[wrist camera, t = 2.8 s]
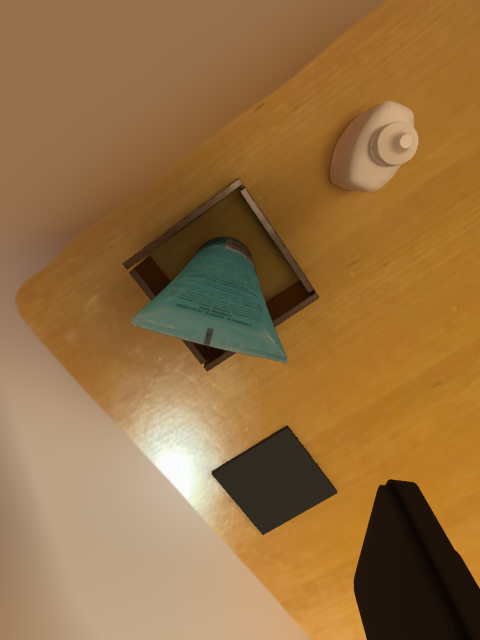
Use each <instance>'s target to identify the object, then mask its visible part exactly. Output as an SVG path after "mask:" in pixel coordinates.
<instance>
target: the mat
mask: <svg viewBox="0 0 480 640" xmlns="http://www.w3.org/2000/svg"><path fill="white" fill-rule="evenodd" d="M212 475H213V476H214V477H215V479H216V480H217V481H218V482H219V483H220V485H221V486H222V487H223V488H224V489H225V490H226V492H227V493H228V494H229V495H230V496H231V498H232V499H233V500H234V501H235V502H236V504H237V505H238V506H239V507H240V508H241V509H242V511H243V512H244V513H245V514H246V515H247V517H248V518H249V519H250V520H251V521H252V523H253V524H254V525H255V526H256V527H257V529H258V530H259V531H260V532H261V533H262V534H263V535H264V534H266V533H268V532H269V531H271V530H273V529H275V528H276V527H278V526H280V525H282V524H283V523H285V522H287V521H289V520H291V519H292V518H294V517H296V516H298V515H299V514H301V513H303V512H305V511H306V510H308V509H310V508H312V507H313V506H315V505H317V504H319V503H320V502H322V501H324V500H326V499H327V498H329V497H331V496H333V495H335V494H336V493H337V490H336V489H335V488H334V486H333V485H332V484H331V482H330V481H329V480H328V478H327V477H326V476H325V474H324V473H323V472H322V471H321V469H320V468H319V467H318V465H317V464H316V463H315V461H314V460H313V459H312V457H311V456H310V455H309V453H308V452H307V451H306V449H305V448H304V447H303V445H302V444H301V443H300V442H299V440H298V439H297V438H296V436H295V435H294V434H293V432H292V431H291V430H290V428H289V427H288V426H286V427H284V428H283V429H281V430H279V431H278V432H276V433H274V434H273V435H271V436H269V437H268V438H266V439H265V440H263V441H261V442H260V443H258V444H256V445H255V446H253V447H251V448H250V449H248V450H247V451H245V452H243V453H242V454H240V455H238V456H237V457H235V458H233V459H232V460H230V461H229V462H227V463H225V464H224V465H222V466H220V467H219V468H217V469H215V470H214V471H212Z"/></svg>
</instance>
